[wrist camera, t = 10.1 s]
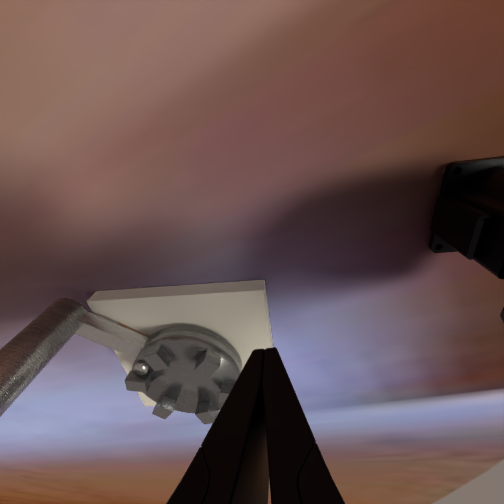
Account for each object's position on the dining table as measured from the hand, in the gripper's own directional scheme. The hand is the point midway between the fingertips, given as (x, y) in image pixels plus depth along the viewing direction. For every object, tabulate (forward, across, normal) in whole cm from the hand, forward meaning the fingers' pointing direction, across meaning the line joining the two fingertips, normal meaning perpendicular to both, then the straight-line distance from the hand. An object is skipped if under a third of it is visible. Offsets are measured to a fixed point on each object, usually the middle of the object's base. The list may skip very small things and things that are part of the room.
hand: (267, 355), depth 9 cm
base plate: (+12, +10, +12) cm, 20 cm away
